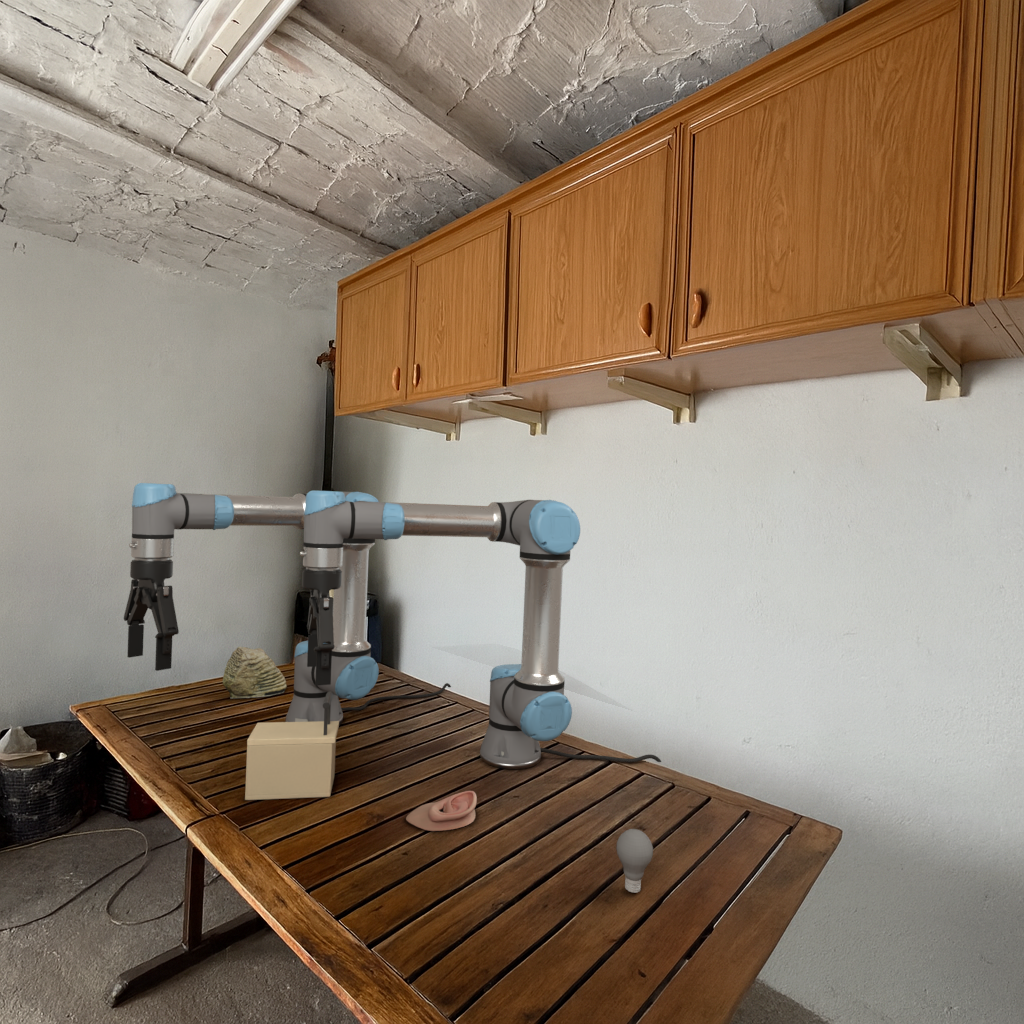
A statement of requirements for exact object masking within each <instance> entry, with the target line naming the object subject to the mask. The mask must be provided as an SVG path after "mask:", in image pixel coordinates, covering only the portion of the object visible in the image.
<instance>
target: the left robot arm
mask: <svg viewBox="0 0 1024 1024" xmlns="http://www.w3.org/2000/svg"><path fill="white" fill-rule="evenodd" d="M336 491H337V490H336ZM337 492H339V491H337ZM342 492H343V493H344V494H345V499H346V501H349V502H356V501H367V502H380V501H379V500H378V498H377V497H375V495H373V494H370V493H367V492H363V491H362V492H361V491H342ZM306 495H307V493H295V494H294V495H293V496H276V495H275V496H274V495H273V496H272V495H248V494H247V495H246V494H244V495H243V494H220V493H219V494H218V493H217V494H216V493H215V494H214V493H189V492H187V493H186V492H177V491H176V486H175V485H174V484H173V483H152V482H139V483H137V484H136V485H135V486H134V488H133V492H132V501H131V520H132V521H131V542H130V543H128V547H129V548H130V549H131V550H130V556H131V558H133V559H132V560H131V561H130V567H129V568H130V571H129V574H130V575H129V576H130V578H131V581H130V590H129V594H128V598H127V603H126V607H125V610H124V615H123V621H124V622H126V624H127V626H128V629H127V630H128V631H127V658H135V657H142V656H144V635H145V634H144V630H145V625H144V624H145V623H146V621H145V619H144V618H145V616H146V615H147V612H148V609H149V610H151V613H152V618H153V620H154V624H155V627H156V631H157V633H156V635H155V636H154V638H155V661H154V663H155V665H154V668H155V669H154V670H155V671H157V672H159V671H164V670H169V669H172V659H173V657H172V655H173V637H175V636H176V635H179V632H180V631H179V625H178V619H177V615H176V614H177V613H176V609H175V603H174V597H173V595H174V593H173V585H165V580H167V579H171V578H172V577H173V575H174V573H173V572H174V561H173V560H172V559H171V558H173V557H174V554H175V553H174V552H175V530H213V531H215V530H224V529H228V528H230V526H233V527H234V526H237V527H238V526H240V527H243V526H246V527H247V526H249V527H250V526H258V527H259V526H268V527H269V526H276V527H277V526H282V527H284V526H285V527H286V526H287V527H288V526H289V527H290V526H291V527H293V528H294V529H296V530H304V512H305V503H306ZM375 544H376V539H347V538H344V539H343V561H342V567H340V568H339V569H340V570H341V571H342V580H341V587H340V588H339V589H335V590H333V633H334V649H333V650H332V662H331V685H318V686H316V685H315V680H316V666H314V667H307V655H308V640H304V641H300V642H299V643H297V645H296V646H295V650H294V655H293V657H294V672H293V673H294V674H293V695H292V696H293V697H292V699H291V702H290V704H289V708H288V711H287V713H286V715H285V722H317V721H324V708H323V703H324V700H325V697H326V694H327V692H332V693H333V697H332V701H331V714H330V721H339V726H340V725H342V723H343V722H344V714H343V712H346V711H361V710H362V711H363V710H364V709H367V707H368V705H369V704H371V703H373V702H377V701H378V702H379V701H383V700H384V701H385V700H394V699H395V700H396V699H419V698H429V697H433V696H437V695H440V694H442V693H443V692H444V691H445V689H446V688H451V687H452V685H451V684H450V683H448V682H445V683H444V685H443V686H442V687H441V688H440V689H439V690H438V691H434V692H431V693H430V692H429V693H423V694H412V695H411V694H410V695H409V694H408V695H407V694H405V695H402V694H401V695H400V694H399V695H388V696H379V697H373V698H371V699H368V700H367V701H365V703H364V704H363V705H361V706H357V707H354V706H353V707H352V706H350V707H349V706H348V707H347V706H346V707H342V706H341V702H340V699H339V698H341V699H342V700H343V699H344V700H348V701H349V700H350V701H357V700H360V699H362V698H364V697H365V696H367V695H368V694H370V692H371V690H372V689H374V687H375V685H376V683H377V682H378V678H379V674H380V672H379V671H380V670H379V669H380V668H379V665H378V663H377V662H376V660H375V659H374V657H371V652H372V649H371V648H372V644H371V643H370V642H368V640H367V639H366V631H367V607H368V606H367V605H368V604H367V602H368V582H369V581H368V579H369V555H370V553H369V552H370V550H371V548H372V547H374V545H375Z"/></svg>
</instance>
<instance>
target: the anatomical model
mask: <svg viewBox="0 0 1024 1024" xmlns="http://www.w3.org/2000/svg"><path fill="white" fill-rule="evenodd" d="M477 803H478V798H477V793H476V792H475V791H473V790H465V791H461V792H458V793H455V794H452V795H450V796H447V797H445V798H443V799H441V800H438V801H436V802H429V803H425V804H422V805H420V806H418V807H416V808H415V809H413V810H412V811H410V813H408V814H407V816H406V817H405V821H406V822H408V823H409V824H410V825H412V826H414V827H416V828H418V829H422V830H425V831H428V832H429V831H430V832H440V831H450V830H456V829H459V828H463V827H466V826H468V825H470V824H472V823H473V822H474V821H475V819H476V810H475V809H476V806H477Z"/></svg>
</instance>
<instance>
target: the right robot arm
mask: <svg viewBox="0 0 1024 1024" xmlns="http://www.w3.org/2000/svg"><path fill="white" fill-rule="evenodd" d="M343 492H344V491H338V492H337V490H336V491H335V490H333V491H332V490H310V491H308V492H307V493H306V494H307V495H306V503H305V512H304V529H303V550H304V551H303V550H302V551H300V552H299V557H302V566H303V567H304V568H303V570H302V571H301V587H302V588H303V589H305V590H309V593H310V596H309V608H308V616H307V617H308V618H307V624H306V629H307V633H308V635H307V641H308V655H307V667H314V666H316V680H315V685H316V686H318V685H331V662H332V650H333V649H334V633H333V598H334V596H330V595H331V593H330V591H332V590H333V591H334V590H335V589H339V588H340V587H341V580H342V571H341V570H340V569H339V568H340V567H342V561H343V539H344V538H347V539H375V540H384V541H388V540H398V539H399V540H400V539H401V537H402V536H407V537H446V538H447V537H450V538H451V537H455V538H487V540H488V541H490V542H492V543H493V542H495V543H496V542H499V543H506V544H511V545H516V546H519V559H520V560H521V562H522V563H523V564H524V566H525V571H524V572H525V574H524V575H525V576H524V579H525V580H524V595H523V597H524V598H523V619H522V620H523V621H522V641H521V643H522V645H521V663H509V664H508V663H507V664H499V665H496V666H493V668H492V669H491V672H490V679H489V704H488V705H489V708H488V711H489V712H488V725H487V729H486V732H485V734H484V737H483V740H482V742H481V745H480V751H479V757H480V759H481V761H482V762H484V763H485V764H487V765H488V766H491V767H494V768H498V769H503V770H524V769H529V768H532V767H534V766H537V765H538V764H539V763H540V762H541V760H542V753H544V754H549V755H554V756H559V757H563V758H567V759H574V760H576V759H577V760H603V761H611V762H618V763H631V764H632V763H638V762H642V761H644V760H649V759H652V760H654V761H656V762H657V763H662V760H661V759H660V757H658V756H656V755H655V754H650V753H649V754H644V755H640V756H638V757H633V758H625V757H616V756H610V755H599V754H598V755H597V754H574V753H573V754H571V753H566V752H562V751H559V750H554V749H549V748H544V747H541V745H540V742H550V741H552V740H555V739H557V738H558V737H560V736H561V735H562V734H563V732H565V731H566V730H567V728H568V727H569V726H570V723H571V721H572V717H573V716H572V715H573V708H572V703H571V702H570V701H569V699H568V697H567V695H565V676H564V675H563V674H562V673H561V672H560V670H559V665H560V664H559V663H560V642H561V621H562V620H561V619H562V598H563V597H562V596H563V575H564V567H565V566H566V565H567V564H568V563H569V562H570V561H571V551H572V549H574V547H575V546H576V545H577V544H578V543H579V540H580V536H581V524H580V520H579V517H578V515H577V513H576V512H575V511H574V510H573V509H572V508H571V506H569V505H568V504H566V503H564V502H561V501H558V500H554V499H523V500H516V501H514V500H513V501H504V502H503V501H500V502H497V501H493V502H490V503H489V504H488V505H469V504H468V505H467V504H443V503H441V504H440V503H417V502H416V503H415V502H391V501H388V502H387V501H386V502H383V501H379V502H367V501H356V502H349V501H346V499H345V494H344V493H343Z"/></svg>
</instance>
